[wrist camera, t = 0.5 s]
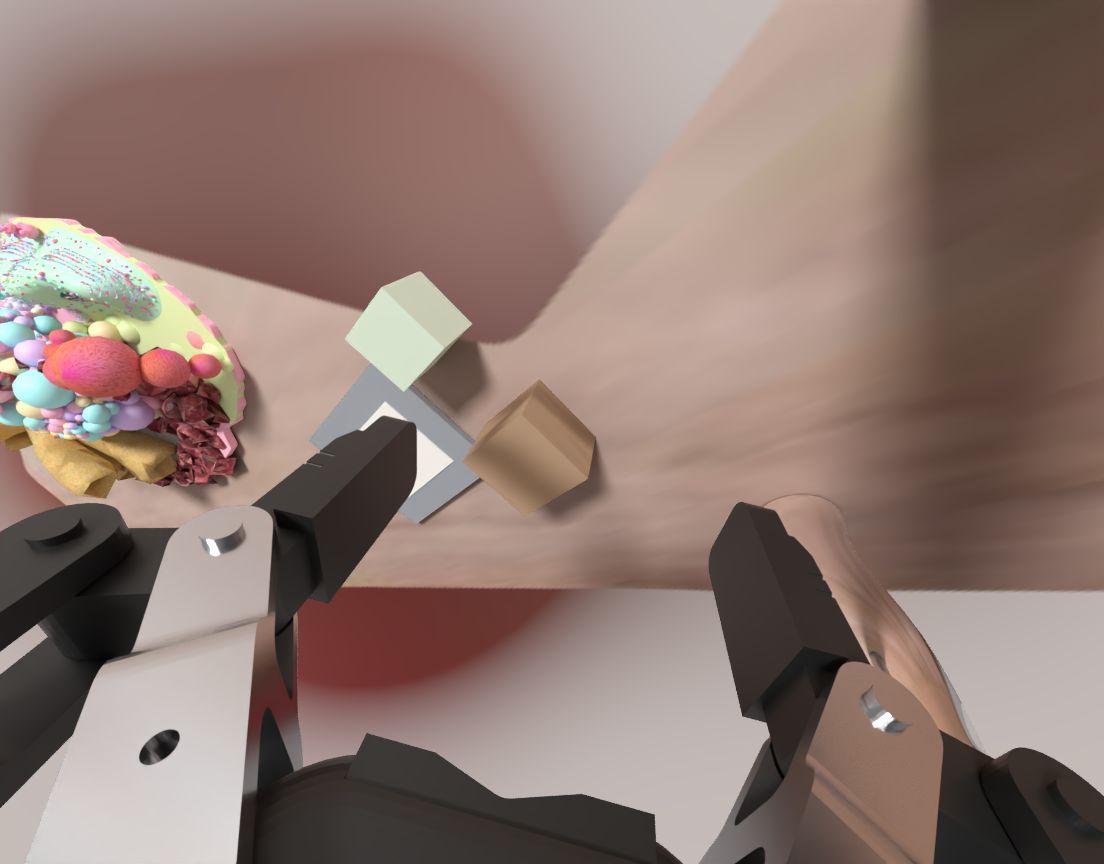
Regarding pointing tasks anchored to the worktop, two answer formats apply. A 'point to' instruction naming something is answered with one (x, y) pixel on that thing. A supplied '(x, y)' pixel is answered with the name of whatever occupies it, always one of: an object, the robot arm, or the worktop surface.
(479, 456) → the walnut block
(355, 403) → the pad
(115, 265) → the candy landscape model
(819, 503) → the beer glass
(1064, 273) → the worktop surface
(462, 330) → the sage cube
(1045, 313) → the worktop surface
